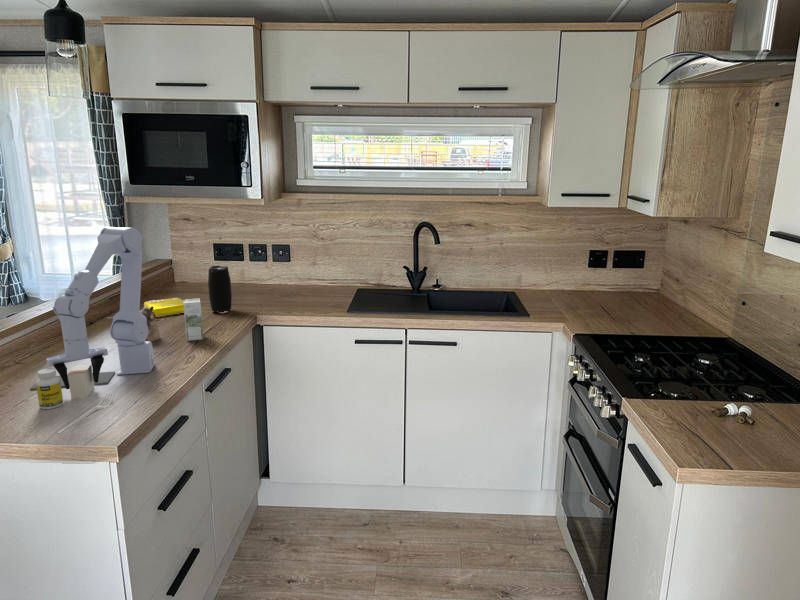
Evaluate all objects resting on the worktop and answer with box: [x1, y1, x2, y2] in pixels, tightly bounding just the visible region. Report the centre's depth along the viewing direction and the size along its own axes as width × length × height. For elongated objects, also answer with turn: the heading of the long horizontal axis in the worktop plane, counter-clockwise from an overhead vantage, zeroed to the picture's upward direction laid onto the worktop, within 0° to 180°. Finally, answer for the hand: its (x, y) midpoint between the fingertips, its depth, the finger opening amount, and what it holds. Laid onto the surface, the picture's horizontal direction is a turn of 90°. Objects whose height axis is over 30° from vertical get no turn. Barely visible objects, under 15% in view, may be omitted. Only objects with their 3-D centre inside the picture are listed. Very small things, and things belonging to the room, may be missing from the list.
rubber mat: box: [29, 370, 116, 391], centre depth 166 cm, size 20×9×1 cm, turn 104°
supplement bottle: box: [35, 367, 64, 410], centre depth 149 cm, size 5×5×10 cm
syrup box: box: [182, 298, 204, 342], centre depth 204 cm, size 6×6×14 cm
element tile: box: [143, 297, 184, 316], centre depth 242 cm, size 15×15×5 cm
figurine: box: [140, 306, 161, 342], centre depth 204 cm, size 7×7×12 cm
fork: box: [57, 393, 116, 434], centre depth 144 cm, size 3×20×2 cm, turn 171°
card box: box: [67, 364, 95, 399], centre depth 157 cm, size 4×7×7 cm, turn 14°
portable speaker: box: [207, 265, 233, 313], centre depth 240 cm, size 9×9×20 cm
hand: (81, 384), depth 157 cm, fingers closed on card box, 6 cm apart
